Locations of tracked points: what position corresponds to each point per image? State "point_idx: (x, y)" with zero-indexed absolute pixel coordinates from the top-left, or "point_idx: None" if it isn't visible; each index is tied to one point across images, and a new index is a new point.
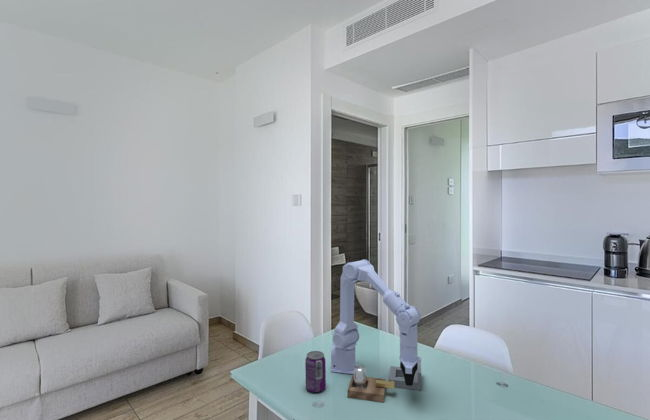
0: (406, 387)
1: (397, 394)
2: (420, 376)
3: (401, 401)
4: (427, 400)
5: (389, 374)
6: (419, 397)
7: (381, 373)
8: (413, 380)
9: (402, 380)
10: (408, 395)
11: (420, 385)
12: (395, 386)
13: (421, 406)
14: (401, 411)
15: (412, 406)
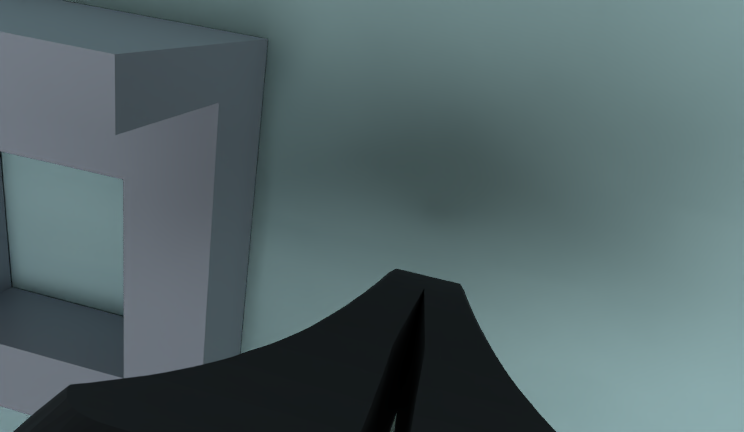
0: (244, 233)
1: None
2: (156, 70)
3: (528, 345)
4: (512, 3)
5: None
6: (438, 106)
7: (6, 415)
8: (159, 157)
9: (191, 313)
10: (397, 238)
11: (239, 59)
12: (237, 348)
13: (658, 126)
14: (739, 392)
15: (646, 244)
